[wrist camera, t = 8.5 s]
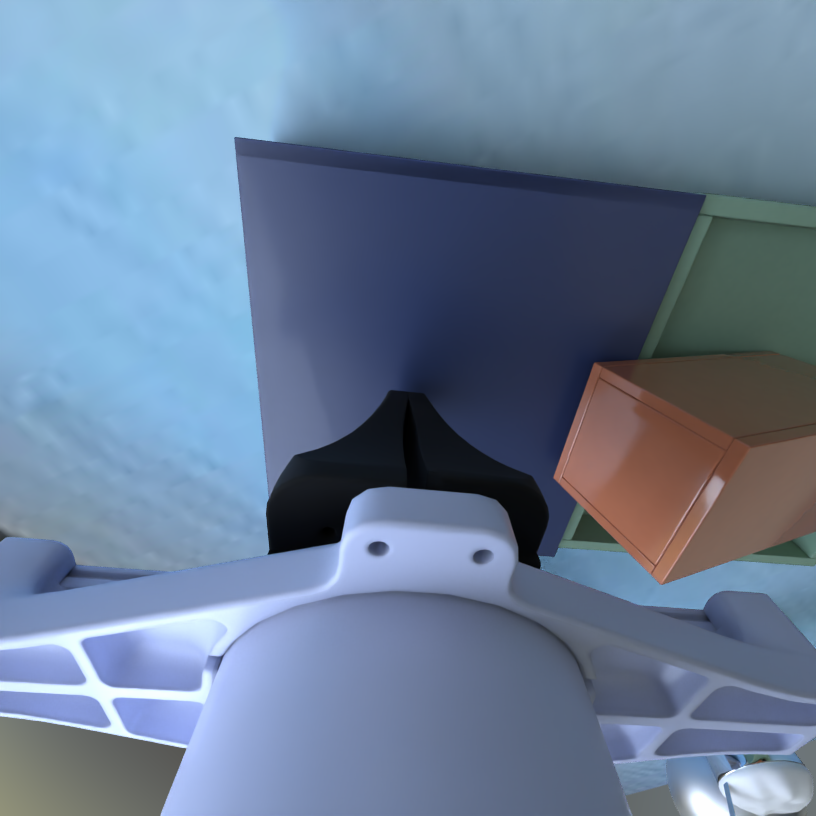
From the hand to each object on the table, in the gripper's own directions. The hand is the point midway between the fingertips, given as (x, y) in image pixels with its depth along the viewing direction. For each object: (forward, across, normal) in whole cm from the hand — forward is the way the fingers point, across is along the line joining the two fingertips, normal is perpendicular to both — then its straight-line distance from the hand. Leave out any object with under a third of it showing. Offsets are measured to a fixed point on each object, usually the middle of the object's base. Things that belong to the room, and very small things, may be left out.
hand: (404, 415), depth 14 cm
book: (+4, -1, 0) cm, 4 cm away
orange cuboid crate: (+2, -11, 0) cm, 11 cm away
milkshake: (+4, -22, +19) cm, 29 cm away
